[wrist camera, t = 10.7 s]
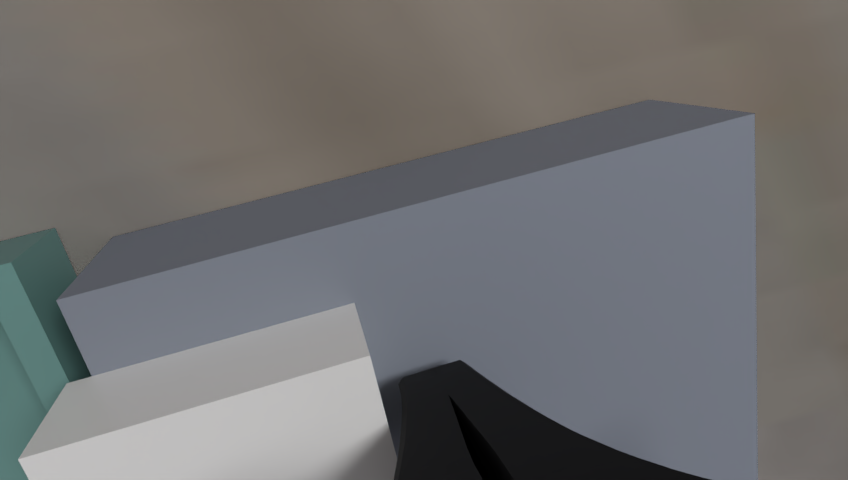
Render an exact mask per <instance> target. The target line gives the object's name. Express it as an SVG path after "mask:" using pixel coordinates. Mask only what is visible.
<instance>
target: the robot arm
mask: <svg viewBox="0 0 848 480" xmlns="http://www.w3.org/2000/svg"><path fill="white" fill-rule="evenodd" d="M398 385H399V389H400V393H401V400H402V423H401V434H400V444H399V452H398V458H397V464H396V469H395V475H394V480H711V479H707V478H702V477H699V476H695V475H692V474H688V473H685V472H681V471H677V470H674V469H671V468H668V467H665V466H662V465H659V464H656V463H653V462H650V461H646V460H643V459H640V458H637V457H635V456H632V455H629V454H627V453H624V452H621V451H619V450H616V449H614V448H611V447H609V446H607V445H604V444H602V443H599V442H597V441H595V440H592V439H590V438H588V437H585V436H583V435H581V434H579V433H577V432H575V431H573V430H570V429H568V428H567V427H565V426H563V425H561V424H559V423H557V422H555V421H554V420H552V419H550V418H548V417H546V416H545V415H543V414H541V413H539V412H538V411H536V410H534V409H533V408H531V407H529V406H528V405H526V404H525V403H523V402H521V401H520V400H518V399H517V398H515V397H513V396H512V395H510V394H509V393H507V392H506V391H504V390H503V389H501V388H500V387H498V386H497V385H495V384H494V383H493V382H491V381H490V380H488V379H487V378H485V377H484V376H483V375H481V374H480V373H479V372H477V371H476V370H475V369H473V368H472V367H471V366H469V365H468V364H466V363H465V362H463V361H461V360H457V361H454V362H451V363H448V364H444V365H441V366H438V367H435V368H432V369H428V370H425V371H422V372H419V373H415V374H412V375H409V376H406V377H403V378H402V379H401V381H400V382H399V384H398Z"/></svg>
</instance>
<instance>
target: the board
mask: <svg viewBox="0 0 848 480" xmlns="http://www.w3.org/2000/svg"><path fill="white" fill-rule="evenodd" d="M56 301H57V303H58V306H59V308H60V310H61V312H62V314H63V316H64V318H65V320H66V323H67V325H68V327H69V329H70V331H71V333H72V335H73V337H74V340H75V342H76V344H77V346H78V348H79V350H80V352H81V354H82V357H83V359H84V361H85V363H86V365H87V367H88V369H89V371H90V374H91V376H95V375H98V374H102V373H105V372H109V371H113V370H116V369H120V368H123V367H127V366H130V365H134V364H138V363H141V362H145V361H148V360H152V359H155V358H159V357H162V356H166V355H170V354H173V353H177V352H180V351H184V350H187V349H191V348H195V347H198V346H202V345H205V344H209V343H212V342H216V341H220V340H223V339H227V338H230V337H234V336H237V335H241V334H245V333H248V332H252V331H255V330H259V329H262V328H266V327H270V326H273V325H277V324H280V323H284V322H287V321H291V320H295V319H298V318H302V317H305V316H309V315H312V314H316V313H320V312H323V311H327V310H330V309H334V308H337V307H341V306H345V305H348V304H352V303H355V307H356V310H357V313H358V317H359V320H360V323H361V327H362V330H363V333H364V337H365V340H366V343H367V347H368V350H369V353H370V357H371V361H372V365H373V368H374V372H375V376H376V380H377V384H378V388H379V391H380V395H381V399H382V403H383V407H384V410H385V414H386V418H387V422H388V426H389V430H390V433H391V437H392V441H393V445H394V449H395V452H396V456H397V458H398V452H399V444H400V434H401V423H402V400H401V393H400V389H399V385H398V384H399V382H400V381H401V379H402V378H403V377H406V376H409V375H412V374H415V373H419V372H422V371H425V370H428V369H432V368H435V367H438V366H441V365H444V364H448V363H451V362H454V361H457V360H461V361H463V362H465V363H466V364H468V365H469V366H471V367H472V368H473V369H475V370H476V371H477V372H479V373H480V374H481V375H483V376H484V377H485V378H487V379H488V380H490V381H491V382H493V383H494V384H495V385H497V386H498V387H500V388H501V389H503V390H504V391H506V392H507V393H509V394H510V395H512V396H513V397H515V398H517V399H518V400H520V401H521V402H523V403H525V404H526V405H528V406H529V407H531V408H533V409H534V410H536V411H538V412H539V413H541V414H543V415H545V416H546V417H548V418H550V419H552V420H554V421H555V422H557V423H559V424H561V425H563V426H565V427H567V428H568V429H570V430H573V431H575V432H577V433H579V434H581V435H583V436H585V437H588V438H590V439H592V440H595V441H597V442H599V443H602V444H604V445H607V446H609V447H611V448H614V449H616V450H619V451H621V452H624V453H627V454H629V455H632V456H635V457H637V458H640V459H643V460H646V461H650V462H653V463H656V464H659V465H662V466H665V467H668V468H671V469H674V470H677V471H681V472H685V473H688V474H692V475H695V476H699V477H702V478H707V479H711V480H758V450H757V332H756V215H755V113H748V112H740V111H733V110H725V109H717V108H710V107H702V106H694V105H686V104H679V103H671V102H663V101H655V100H647V101H643V102H639V103H635V104H631V105H627V106H623V107H619V108H615V109H612V110H608V111H604V112H600V113H596V114H592V115H588V116H584V117H580V118H576V119H572V120H569V121H565V122H561V123H557V124H553V125H549V126H545V127H541V128H537V129H533V130H529V131H526V132H522V133H518V134H514V135H510V136H506V137H502V138H498V139H494V140H490V141H486V142H483V143H479V144H475V145H471V146H467V147H463V148H459V149H455V150H451V151H447V152H443V153H440V154H436V155H432V156H428V157H424V158H420V159H416V160H412V161H408V162H404V163H400V164H397V165H393V166H389V167H385V168H381V169H377V170H373V171H369V172H365V173H361V174H357V175H354V176H350V177H346V178H342V179H338V180H334V181H330V182H326V183H322V184H318V185H314V186H311V187H307V188H303V189H299V190H295V191H291V192H287V193H283V194H279V195H275V196H271V197H268V198H264V199H260V200H256V201H252V202H248V203H244V204H240V205H236V206H232V207H228V208H225V209H221V210H217V211H213V212H209V213H205V214H201V215H197V216H193V217H189V218H185V219H182V220H178V221H174V222H170V223H166V224H162V225H158V226H154V227H150V228H146V229H142V230H139V231H135V232H131V233H127V234H123V235H119V236H115V237H112V238H111V240H110V241H109V242H108V243H107V244H106V245H105V246H104V247H103V249H102V250H101V251H100V252H99V253H98V254H97V255H96V256H95V257H94V259H93V260H92V261H91V262H90V263H89V264H88V265H87V266H86V267H85V269H84V270H83V271H82V272H81V273H80V274H79V275H78V276H77V277H76V279H75V280H74V281H73V282H72V283H71V284H70V285H69V286H68V288H67V289H66V290H65V291H64V292H63V293H62V294H61V295H60V296H59V298H58V299H57V300H56Z"/></svg>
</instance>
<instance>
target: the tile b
mask: <svg viewBox="0 0 848 480" xmlns="http://www.w3.org/2000/svg"><path fill="white" fill-rule="evenodd" d="M18 461H19V462H20V464H21V466H22V468H23V470H24V472H25V474H26V475H27V477H28V479H29V480H394V475H395V469H396V464H397V456H396V452H395V449H394V445H393V441H392V437H391V433H390V430H389V426H388V422H387V418H386V414H385V410H384V407H383V403H382V399H381V395H380V391H379V388H378V384H377V380H376V376H375V372H374V368H373V365H372V361H371V357H370V353H369V350H368V347H367V343H366V340H365V337H364V333H363V330H362V327H361V323H360V320H359V317H358V313H357V310H356V307H355V303H352V304H348V305H345V306H341V307H337V308H334V309H330V310H327V311H323V312H320V313H316V314H312V315H309V316H305V317H302V318H298V319H295V320H291V321H287V322H284V323H280V324H277V325H273V326H270V327H266V328H262V329H259V330H255V331H252V332H248V333H245V334H241V335H237V336H234V337H230V338H227V339H223V340H220V341H216V342H212V343H209V344H205V345H202V346H198V347H195V348H191V349H187V350H184V351H180V352H177V353H173V354H170V355H166V356H162V357H159V358H155V359H152V360H148V361H145V362H141V363H138V364H134V365H130V366H127V367H123V368H120V369H116V370H113V371H109V372H105V373H102V374H98V375H95V376H91V377H88V378H84V379H80V380H77V381H73V382H70V383H66V385H65V387H64V388H63V390H62V391H61V393H60V394H59V396H58V398H57V399H56V401H55V402H54V404H53V405H52V407H51V409H50V410H49V412H48V413H47V415H46V416H45V418H44V419H43V421H42V423H41V424H40V426H39V427H38V429H37V430H36V432H35V434H34V435H33V437H32V438H31V440H30V441H29V443H28V444H27V446H26V448H25V449H24V451H23V452H22V454H21V455H20V457H19V459H18Z"/></svg>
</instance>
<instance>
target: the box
mask: <svg viewBox="0 0 848 480" xmlns="http://www.w3.org/2000/svg"><path fill="white" fill-rule="evenodd" d="M76 277H77V276H76V274H75V271H74V269H73V267H72V265H71V263H70V260H69V258H68V256H67V254H66V251H65V249H64V247H63V245H62V243H61V240H60V238H59V236H58V234H57V231H56V229H55V228H52V229H48V230H44V231H40V232H36V233H32V234H28V235H24V236H20V237H16V238H12V239H8V240H4V241H0V480H29V479H28V477H27V475H26V474H25V472H24V470H23V468H22V466H21V464H20V462H19V461H18V459H19V457H20V455H21V454H22V452H23V451H24V449H25V448H26V446H27V444H28V443H29V441H30V440H31V438H32V437H33V435H34V434H35V432H36V430H37V429H38V427H39V426H40V424H41V423H42V421H43V419H44V418H45V416H46V415H47V413H48V412H49V410H50V409H51V407H52V405H53V404H54V402H55V401H56V399H57V398H58V396H59V394H60V393H61V391H62V390H63V388H64V387H65V385H66V383H70V382H73V381H77V380H80V379H84V378H88V377H91V374H90V371H89V369H88V367H87V365H86V363H85V361H84V359H83V357H82V354H81V352H80V350H79V348H78V346H77V344H76V342H75V340H74V337H73V335H72V333H71V331H70V329H69V327H68V325H67V323H66V320H65V318H64V316H63V314H62V312H61V310H60V308H59V306H58V303H57V301H56V300H57V299H58V298H59V296H60V295H61V294H62V293H63V292H64V291H65V290H66V289H67V288H68V286H69V285H70V284H71V283H72V282H73V281H74V280H75V279H76Z"/></svg>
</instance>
